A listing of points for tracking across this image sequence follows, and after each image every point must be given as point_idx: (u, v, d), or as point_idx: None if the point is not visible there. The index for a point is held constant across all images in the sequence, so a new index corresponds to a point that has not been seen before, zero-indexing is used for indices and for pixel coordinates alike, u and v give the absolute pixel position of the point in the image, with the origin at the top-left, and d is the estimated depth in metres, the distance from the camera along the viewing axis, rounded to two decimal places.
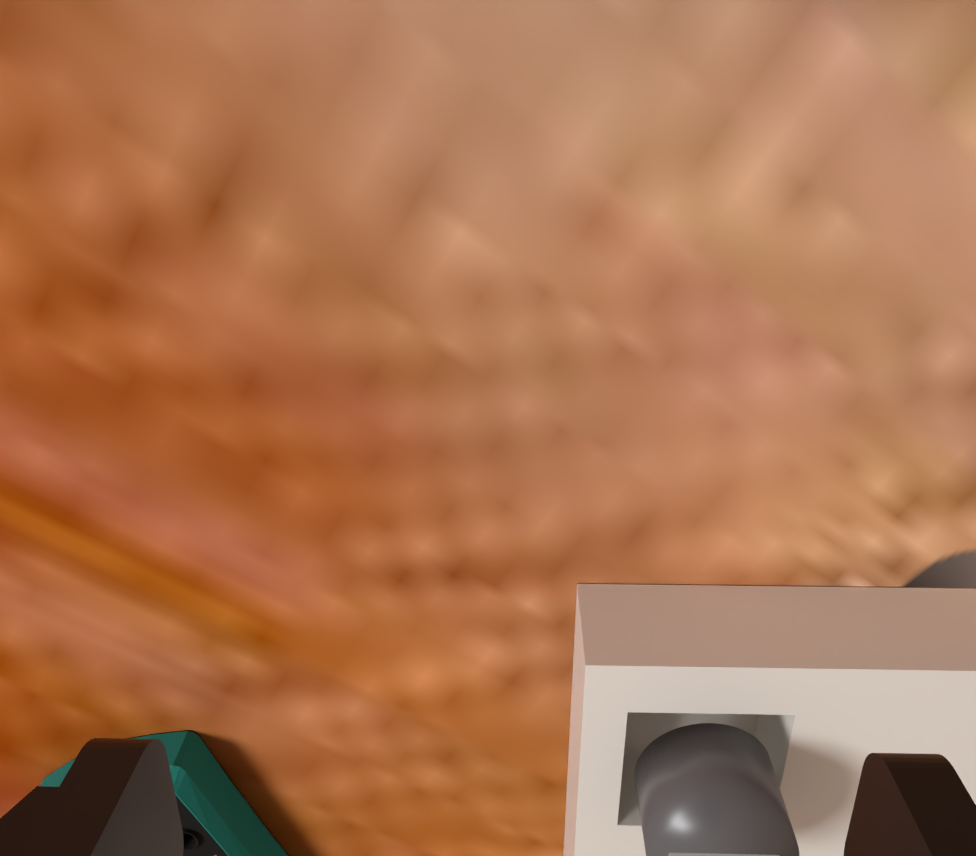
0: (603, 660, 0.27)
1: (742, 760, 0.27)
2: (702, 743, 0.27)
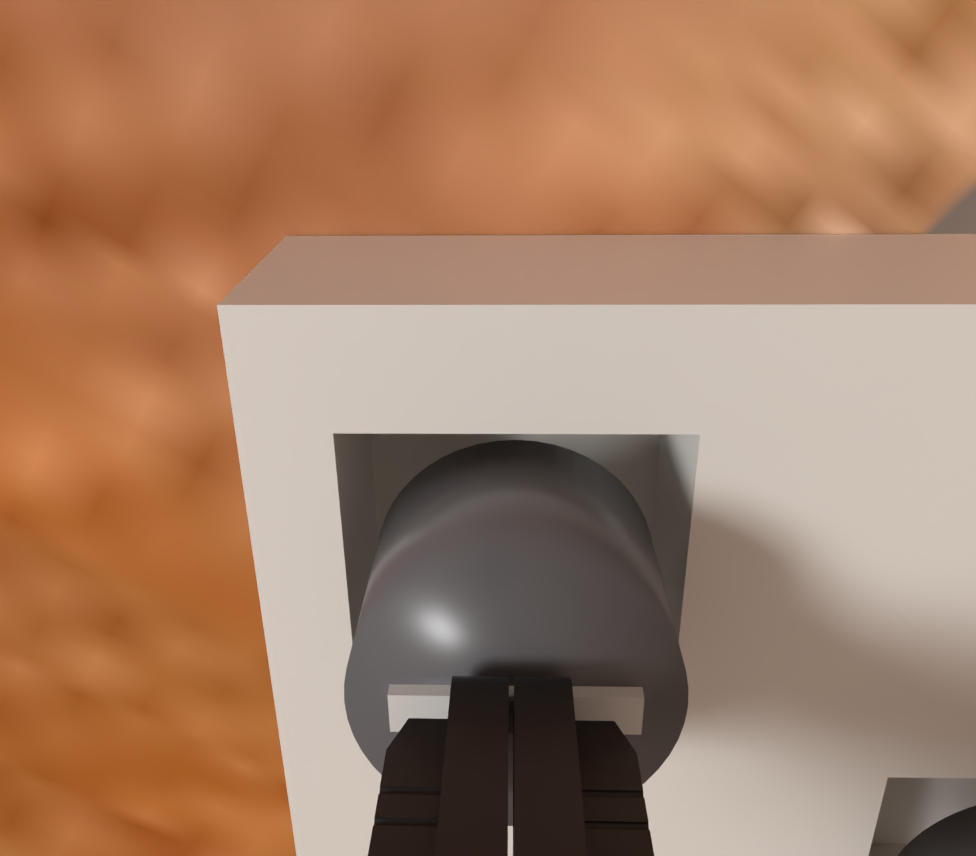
0: (264, 299, 0.12)
1: (569, 492, 0.12)
2: (489, 466, 0.13)
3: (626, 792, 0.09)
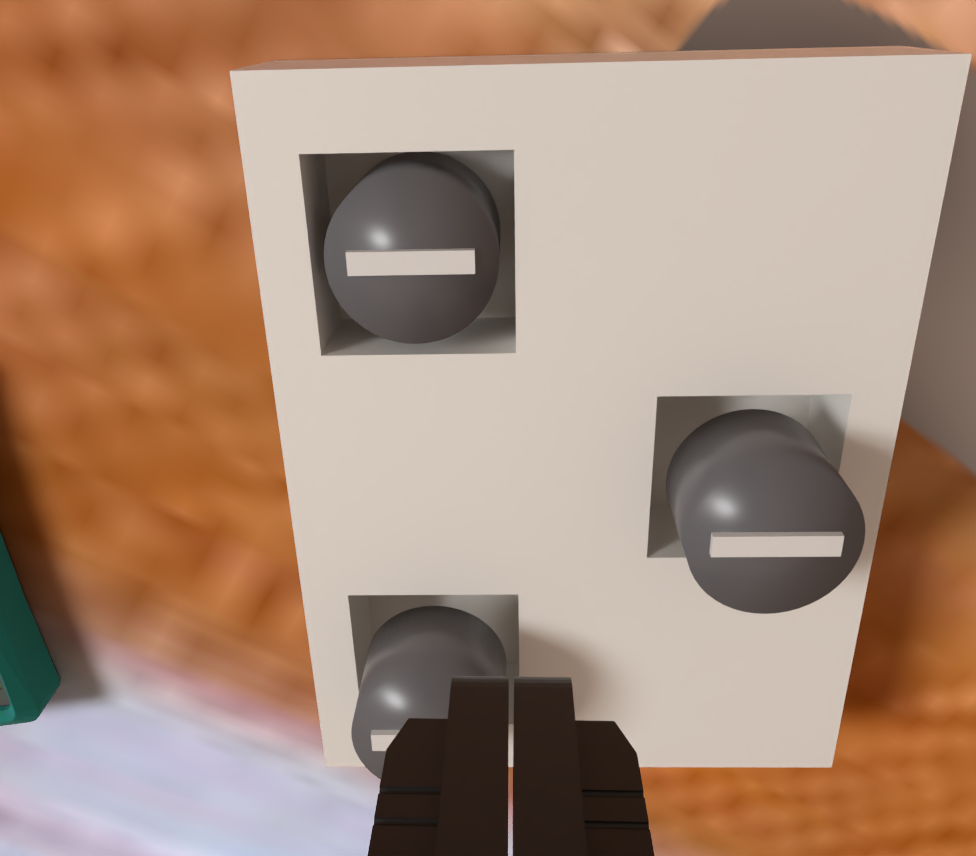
0: (256, 69, 0.21)
1: (442, 163, 0.23)
2: (401, 157, 0.23)
3: (626, 792, 0.09)
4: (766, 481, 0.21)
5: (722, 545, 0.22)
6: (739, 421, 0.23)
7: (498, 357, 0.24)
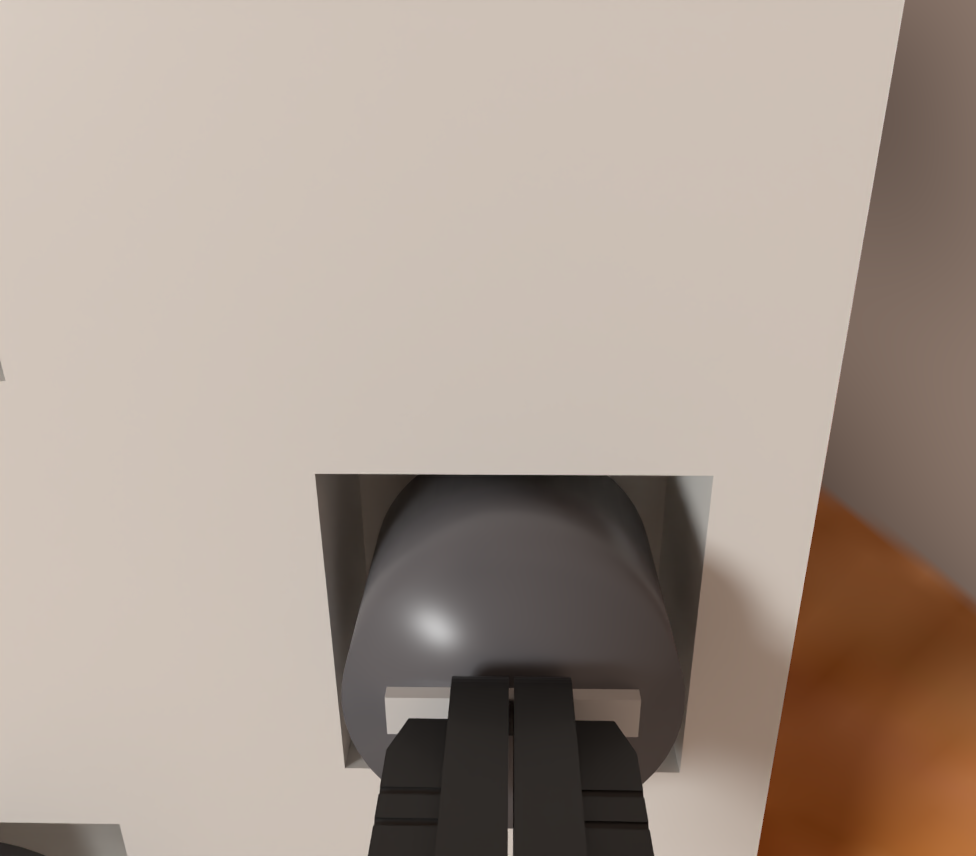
0: None
1: None
2: None
3: (626, 792, 0.09)
4: (480, 594, 0.11)
5: (404, 713, 0.11)
6: None
7: None
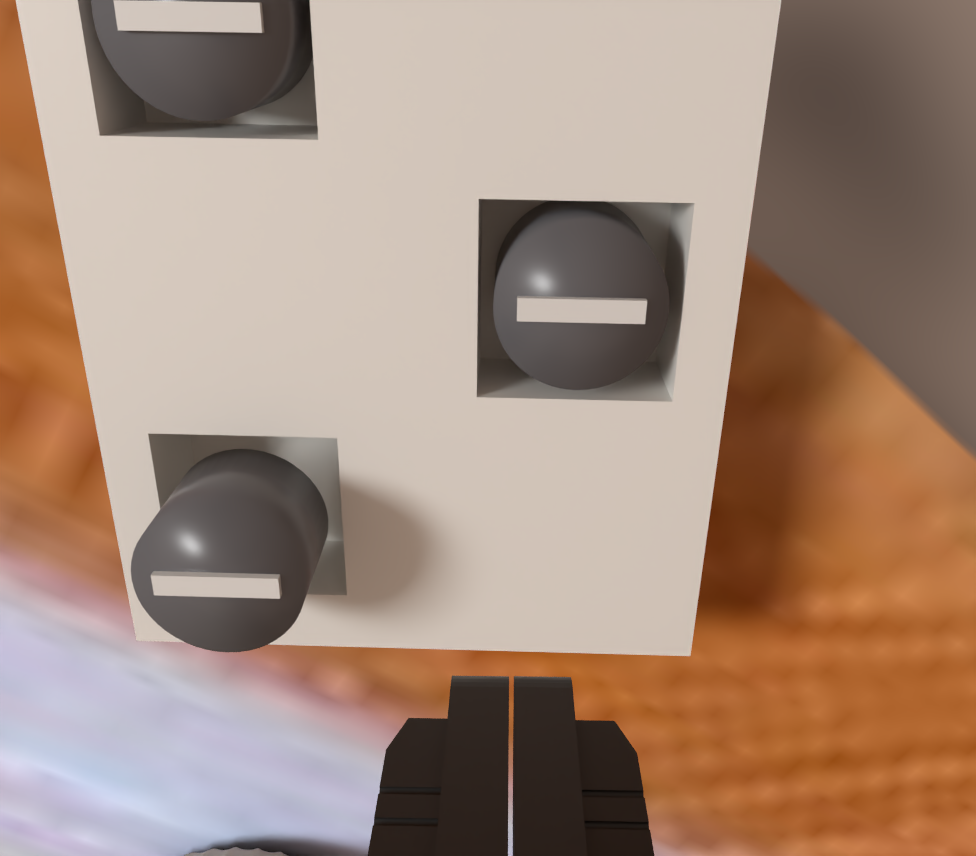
0: None
1: None
2: None
3: (626, 792, 0.09)
4: (568, 239, 0.21)
5: (527, 307, 0.22)
6: (560, 202, 0.24)
7: (299, 144, 0.21)
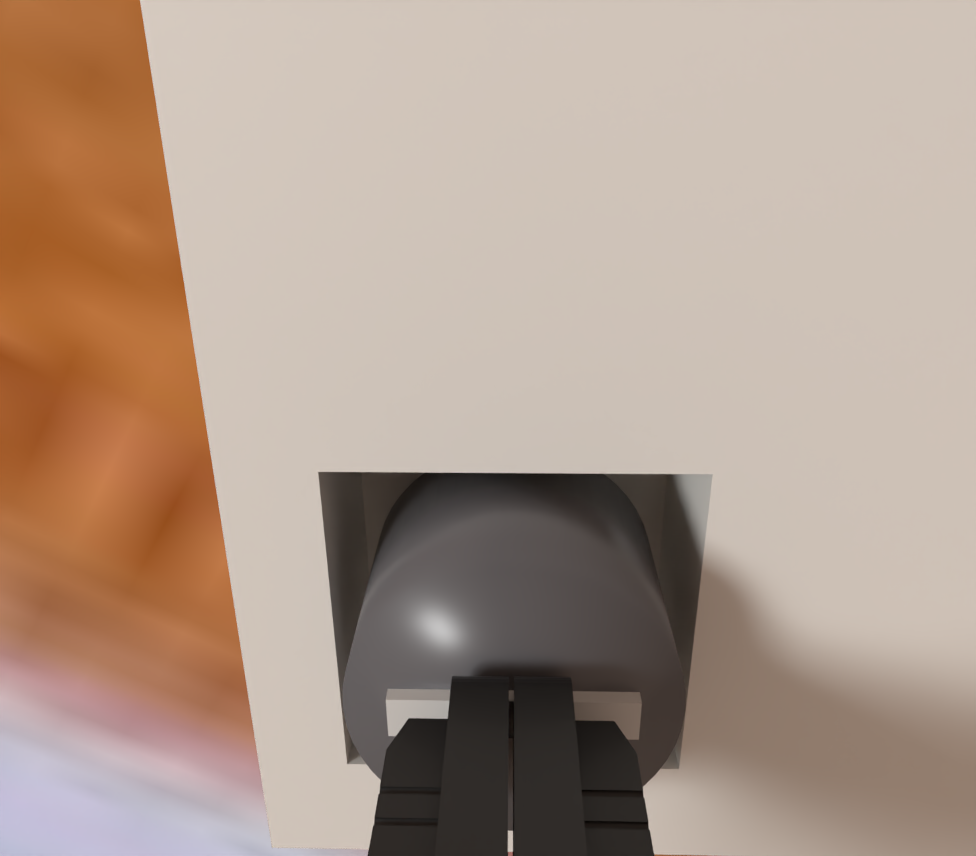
0: None
1: None
2: None
3: (626, 792, 0.09)
4: None
5: None
6: None
7: None
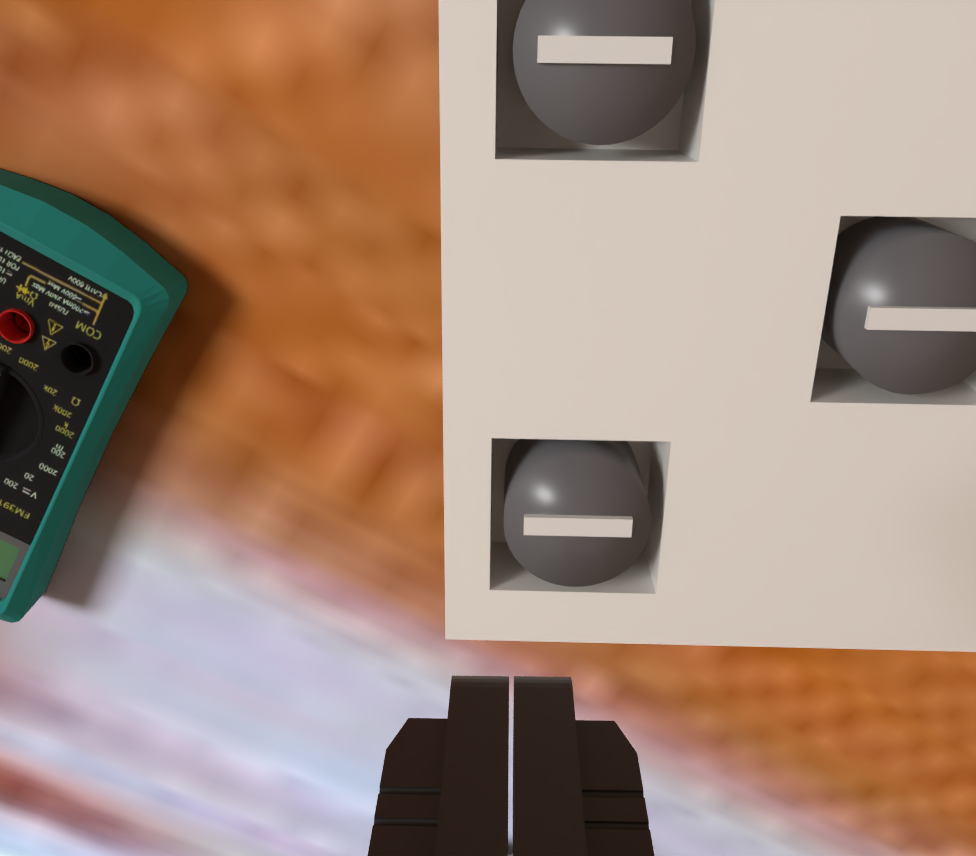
0: None
1: None
2: None
3: (626, 792, 0.09)
4: (924, 252, 0.23)
5: (879, 316, 0.23)
6: (885, 220, 0.25)
7: (680, 166, 0.23)
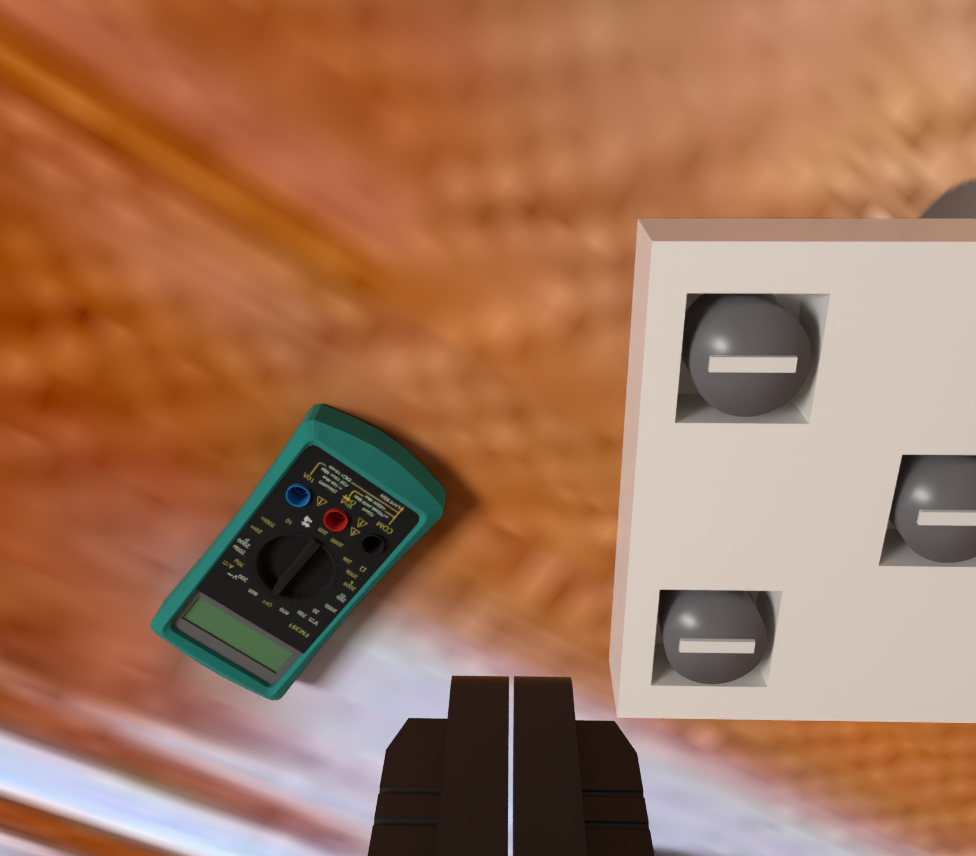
0: (667, 239, 0.32)
1: (765, 295, 0.34)
2: None
3: (626, 792, 0.09)
4: (957, 478, 0.35)
5: (927, 517, 0.35)
6: None
7: (797, 426, 0.34)
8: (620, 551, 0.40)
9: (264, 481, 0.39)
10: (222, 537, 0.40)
